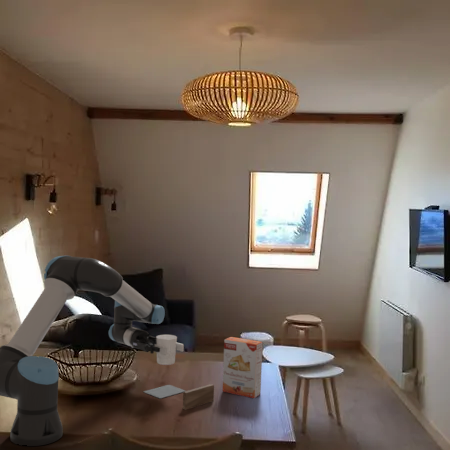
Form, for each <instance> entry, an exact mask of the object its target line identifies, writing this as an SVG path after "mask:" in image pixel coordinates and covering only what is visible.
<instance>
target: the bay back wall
mask: <svg viewBox="0 0 450 450" xmlns="http://www.w3.org/2000/svg"><path fill="white" fill-rule="evenodd" d="M214 394H215V385H214V384H212V383H209V384H207V385H203V386H200V387H196V388H192V389H188V390H185V392H183V393H182V409H183V410H185V411H186V410H190V409H193V408H197V407H199V406H203V405H205V404H206V405H207V404H209V403H211V402H214V396H215V395H214Z"/></svg>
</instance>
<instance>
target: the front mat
mask: <svg viewBox="0 0 450 450" xmlns="http://www.w3.org/2000/svg"><path fill="white" fill-rule="evenodd" d="M185 391H186V389H183V388H180V387H177V386H175V385H172V384H166V385H162V386H160V387H156V388H155V387H154V388H152V389H151V388H150V389H146V390H144V391H143V393H144V394H146V395H149V396H152V397H154V398H157V399H159V400H163V399H165V398H168V397H171V396H176V395H179V394H183V392H185Z"/></svg>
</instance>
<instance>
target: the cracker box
mask: <svg viewBox="0 0 450 450" xmlns="http://www.w3.org/2000/svg"><path fill="white" fill-rule="evenodd" d="M223 341H224V342H223V343H224V344H223V362H222V363H223V365H222V367H223V370H222V373H223V374H222V389H221V390H222V392H223V393H227V394H231V395H232V394H233V395H238V396H241V397H246V398H250V399H256V398H258V397H259V395H261V388H262V387H261V386H262V369H263V368H262V367H263V366H262V363H263V361H262V360H263V341H258V340H254V339H253V340H252V339H248V338H247V339H246V338H241V337H234V336H230V337H227V338H225V339H224V340H223Z"/></svg>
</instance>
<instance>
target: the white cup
mask: <svg viewBox="0 0 450 450" xmlns="http://www.w3.org/2000/svg"><path fill="white" fill-rule="evenodd" d="M155 337H156V343H155V344H157V345H160V346H163V347H166V348H167V355H163V354H160V353H157V352H156V363H157V364H159V365H160V366H162V365H163V366H170V365H174V364H175V362H176V352H177V350H176V343H177V341H178V336H176V335H174V334H159V335H156V336H155Z"/></svg>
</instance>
